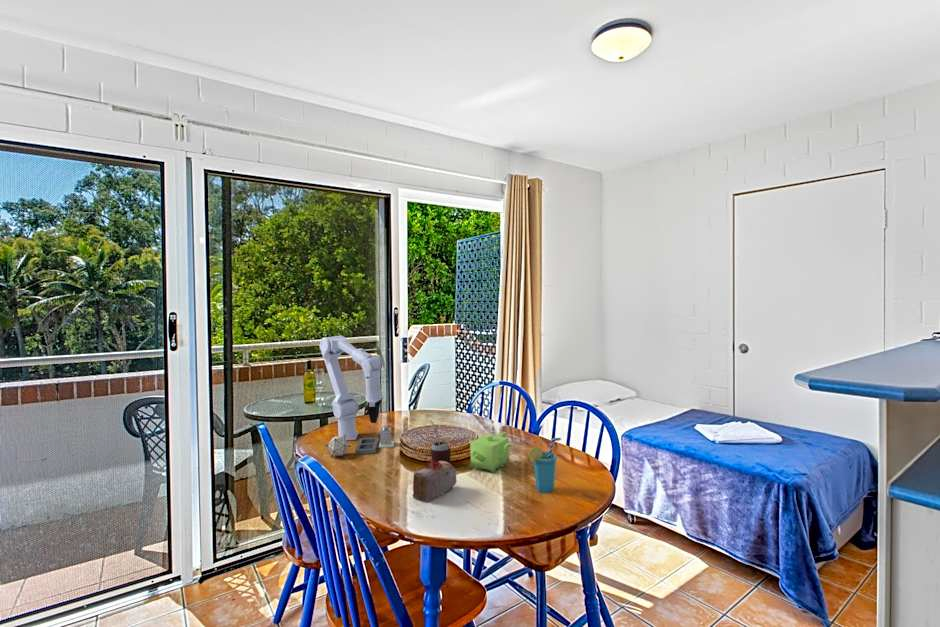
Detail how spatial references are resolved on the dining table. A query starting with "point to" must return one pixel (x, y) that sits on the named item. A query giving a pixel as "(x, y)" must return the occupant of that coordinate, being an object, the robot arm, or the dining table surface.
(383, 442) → the grey knob block
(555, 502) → the dining table surface
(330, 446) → the game die
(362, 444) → the metal frame
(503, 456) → the green knobbed block
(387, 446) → the tray
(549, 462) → the cup
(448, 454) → the mate gourd
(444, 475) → the food item
